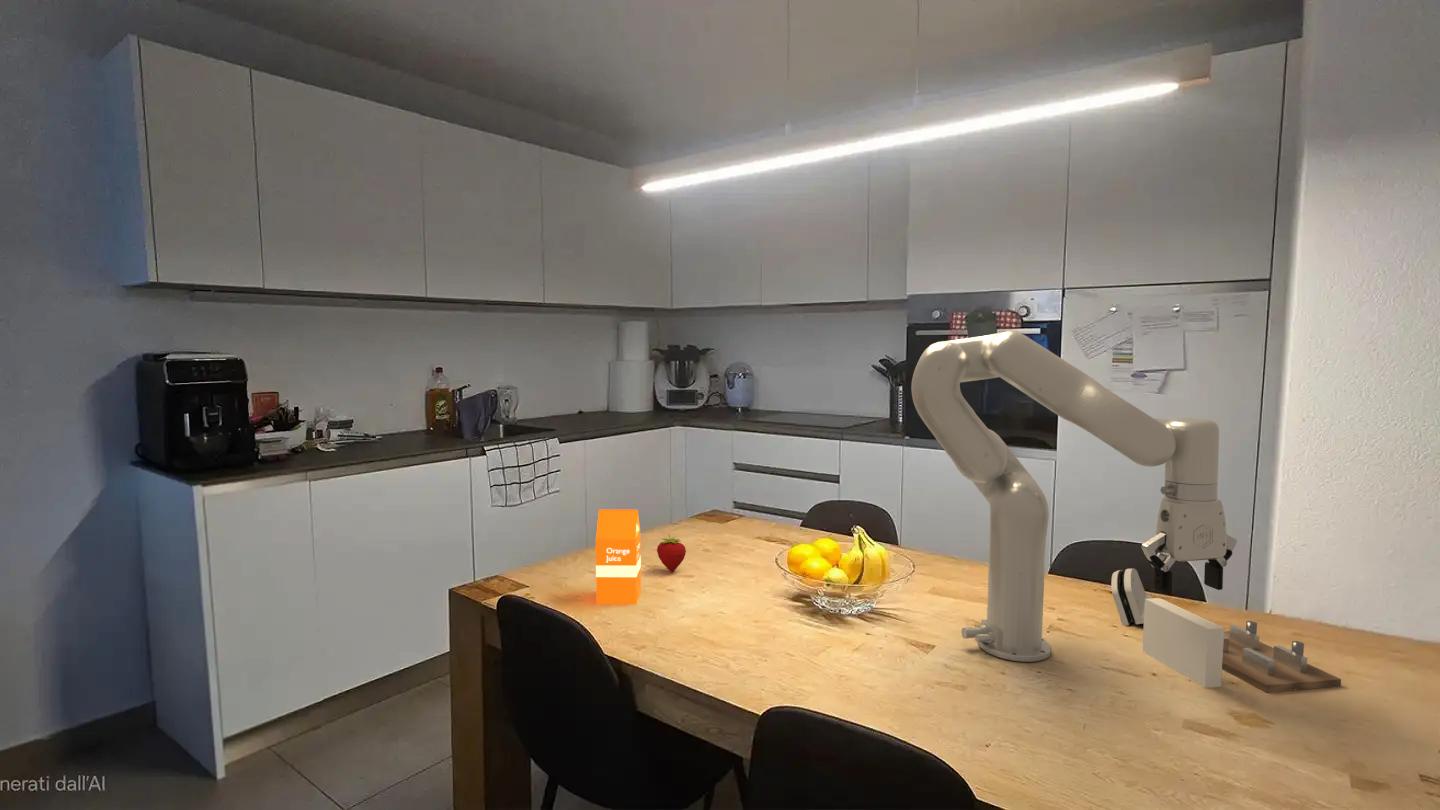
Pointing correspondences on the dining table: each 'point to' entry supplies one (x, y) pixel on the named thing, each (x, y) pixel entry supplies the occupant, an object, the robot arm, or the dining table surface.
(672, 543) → the strawberry
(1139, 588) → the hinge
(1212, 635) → the door panel
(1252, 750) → the dining table surface
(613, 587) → the orange juice
